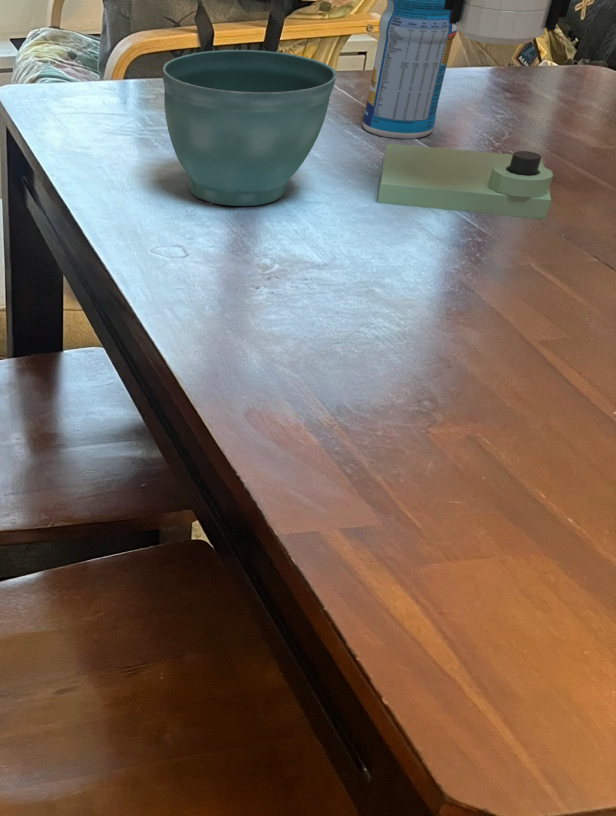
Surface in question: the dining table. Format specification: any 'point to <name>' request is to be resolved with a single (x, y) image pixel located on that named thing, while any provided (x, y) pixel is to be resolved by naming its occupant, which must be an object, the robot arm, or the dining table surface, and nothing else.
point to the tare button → (524, 163)
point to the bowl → (504, 20)
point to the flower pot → (244, 120)
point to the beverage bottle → (409, 68)
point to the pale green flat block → (462, 182)
